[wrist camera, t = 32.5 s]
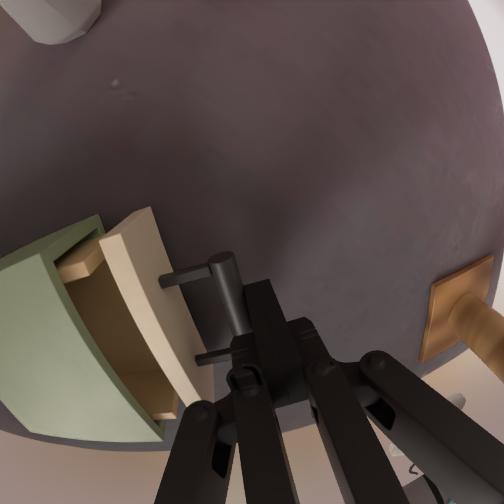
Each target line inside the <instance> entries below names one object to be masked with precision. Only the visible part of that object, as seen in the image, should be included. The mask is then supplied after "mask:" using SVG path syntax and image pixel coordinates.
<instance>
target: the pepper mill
mask: <svg viewBox="0 0 504 504" xmlns="http://www.w3.org/2000/svg"><path fill="white" fill-rule="evenodd" d="M448 328H449V329H450V330H451V331H452V332H453V333H454V334H455V335H456V336H457V337H458V338H459V339H460V340H462V341H463V342H464V343H465V344H466V345H467V346H468V347H469V348H470V349H471V350H472V351H473V352H474V353H475V354H476V355H477V356H478V357H479V358H480V359H481V360H482V361H483V362H484V363H485V364H486V365H487V366H488V367H489V368H490V369H491V371H492V372H493V373H494V374H495V375H496V376H497V377H498V378H499V379H500V380H501V381H502V382H503V383H504V317H503V316H502V315H501V314H499V313H498V312H497V311H495V310H494V309H493V308H492V307H490V306H489V305H488V304H486V303H485V302H484V301H482V300H481V299H480V298H478V297H477V296H476V295H474V294H473V293H466V294H465V295H463V296H462V297H461V298H460V299H459V300H458V301H457V303H456V304H455V305H454V307H453V309H452V311H451V313H450V315H449V318H448Z"/></svg>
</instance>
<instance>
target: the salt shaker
mask: <svg viewBox="0 0 504 504" xmlns="http://www.w3.org/2000/svg"><path fill="white" fill-rule="evenodd" d="M0 5H1V6H2V7H3V8H4V10H5V11H6V12H7V13H8V14H9V15H10V16H11V17H12V18H13V19H14V20H15V21H16V22H17V23H18V24H19V25H20V26H21V27H22V28H23V29H24V30H25V31H26V32H27V33H28V35H29V36H30V37H31V38H32V39H33V40H34V41H35V42H39V43H44V44H48V45H53V44H61V43H67V42H69V41H71V40H73V39H75V38H77V37H79V36H82V35H84V34H86V33H87V32H88V30H89V29H90V27H91V26H92V25H93V23H94V22H95V21H96V19H97V18H98V17H99V15H100V13H101V0H0Z"/></svg>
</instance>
